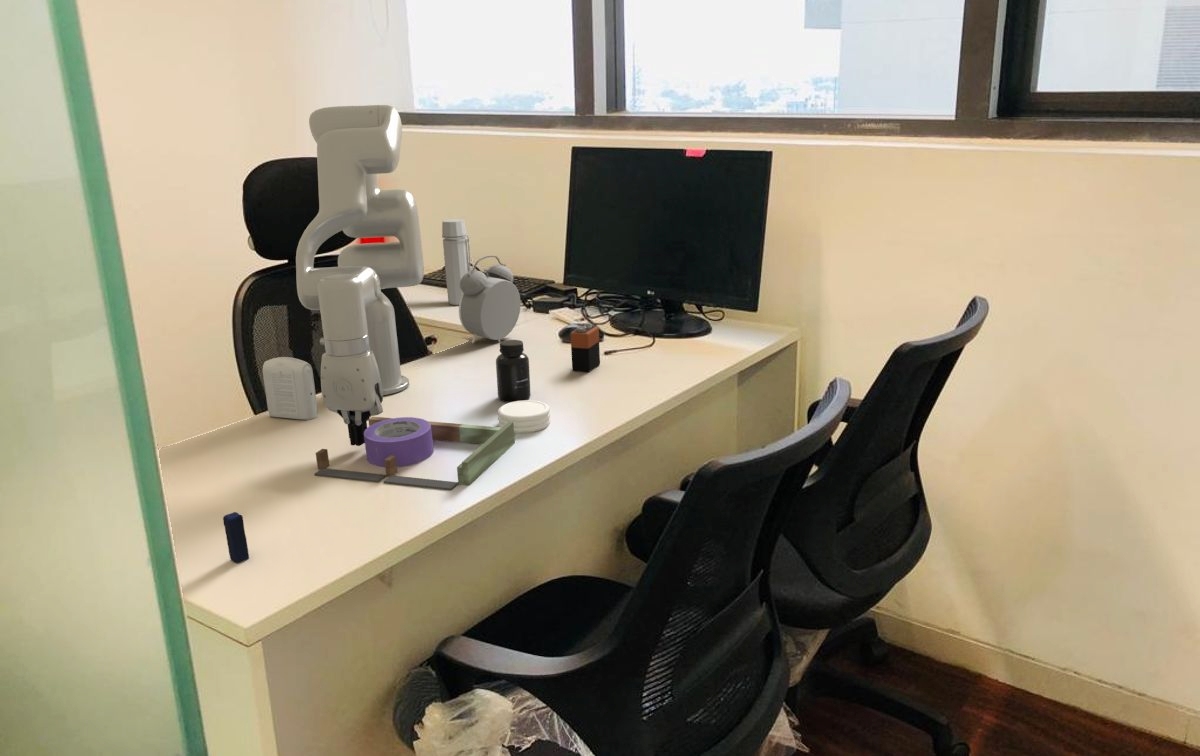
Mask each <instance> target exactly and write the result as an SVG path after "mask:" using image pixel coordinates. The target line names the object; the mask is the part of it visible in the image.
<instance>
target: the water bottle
mask: <svg viewBox="0 0 1200 756" xmlns="http://www.w3.org/2000/svg"><path fill="white" fill-rule="evenodd" d="M441 222H442V225H441V226H442V227H441V233H442V235H441V237H442V246H443V256H444V259H443V260H444V269H445V279H446V281H445V282H446V293H447V301H448V304H449V305H452V306H456V307H459V302H460V299H461V295H462V293H463V292H462V290H461V288H460V281H461V279H462V277H463V276H464V275H465V274H466V273H468V272H470V271H472V269H473V268H474V265H475V263H474V260H473V253H472V249H471V243H470V240H471V236H469V235H467V228H466V222H465V219H463V218H449V219H444V220H442V221H441ZM471 266H472V268H471ZM474 271H476V269H475V270H474Z"/></svg>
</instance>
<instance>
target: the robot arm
mask: <svg viewBox="0 0 1200 756" xmlns="http://www.w3.org/2000/svg"><path fill="white" fill-rule="evenodd" d="M308 124H309V130H310V133H311V136H312V137H313V139H314V142H315V143H316V157H317V158H316V160H317V162H316V163H317V181H318V183H317V184H318V185H317V186H318V204H319V206H318V207H319V209H318V213H317V214H316V216H315V217H314V218H313V220H311V222H309V224H308V225H307V227H306V229H304V231H303V233H302V235H301V237H300V238H299V241H298V245H297V248H296V254H295V255H296V256H295V270H296V273H295V274H296V275H295V276H296V291H297V296H298V299H299V302H300V303H301V305H302V306H303V307H304V308H305V309H308V310H311V311H319V312H320V318H321V326H322V327H321V328H322V333H323V337H321V338H320V339H319V345H321V346H324V350H325V352H323V353H322V354H321V363H320V387H321V399H322V404H323V405H324V407H326V408H327V409H328V411H330V412H333V413H335V414H338V415H339V417H341V418H342V419H343V423H344V424H345V425H347V430H348V437H349V442H350V446H357V447H361V446H362V445H363V444H365V440H364V431H365V430H366V429H367V428H368V424H367V423H368V422H369V421H368V420H369V418H371V417H376V416H379V415H380V414H382V413H383V412H384V408H383V405H382V403H383V401H384V400H383V398H384V396H388V395H391V394H396V393H399V392H401V391H405V390H406V389H407V388H408V387H409V385H410V380H409V378H408V377H407V376H405V375H402V371H401V370H402V369H401V362H400V353H399V352H400V351H399V343H398V336H397V333H398V332H397V326H396V314H395V308H394V305H393V303H392V302H391V301H390V299H389V298H388V297H387V296H386V295H385V294H384V293H383V292H382V290H384V289H393V288H406V287H407V288H409V287H414V286H418V285H420V284H421V283H422V281H423V279H424V276H425V274H424V273H425V266H424V255H423V245H422V237H421V229H420V218H419V211H418V206H417V202H416V200H415V198H414V197H415V196H414V195H413V194H412V193H411V192H409V191H408V190H405V189H384V190H383V189H380V187H379V184H378V176H377V175H378V174H379V175H380V174H391V173H393V172H395V171H396V170H397V168H398V165H399V161H400V156H401V145H402V139H403V138H402V137H403V136H402V135H403V124H402V120H401V116H400V114H399V112H398V110H397V109H396V108H395V107H394V106H391V105H388V104H374V105H373V104H372V105H371V104H368V105H340V106H339V105H337V106H327V107H322V108H318V109H316V110H314V111H312V112H311V114H310V115H309V119H308ZM339 232H343V234H344V235H346V236H347V237H349V238H356V239H368V238H387V237H390V238H391V237H394V238H396V239H397V240H398V241H397V242H396V241H394V242H392V241H391V242H370V243H369V242H368V243H358V244H357V243H356V244H352V245H349V246H347V247H345V248H343V249H342V250H341V251H340V253H339V255H338V257H337V266H332V267H331V266H330V267H314V266H315V265H314V264H315V256H316V255H317V252H318V250H319V248H320V247H321V246H322V244H323V243H325V242H326V241H328V239H329V238H331V237H332V236H334V235H335V234H338V233H339Z"/></svg>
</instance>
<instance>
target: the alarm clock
mask: <svg viewBox="0 0 1200 756" xmlns="http://www.w3.org/2000/svg"><path fill="white" fill-rule="evenodd" d="M487 258H495V260H497V261H498V264H493V265H491V266H489V267H488V268H484V269H483V272H482V271H480V270H476V268H477V265H478V263H480V262H481V261H482V260H484V259H487ZM474 270H475V271H474ZM484 272H486V273H484ZM513 282H514V274H513V272H512V271H511V269H510V268H508V267H507V263H502V262H501V260H500V258H499V257H498V255H485V256H482V257H481V258H479V259H478V260H476V262H475V263H474V268H473V267H472V269H471V271H470V272H468V273H466V274H465V275H464V276H463V277H462V279H461V281H460V288H461V290H462V292H463V293H462V295H461V299H460V302H459V305H458V316H459V320H460V323H461V326H462V327H463V329H464V330H465V331H467V332H468V333H469V334H472V341H471V342H472V344H475V342H476V340H477V338H478V337H481V338H482V337H483V338H484V339H486V338H487V339H489V340H494V341H498V342H499V343H500V342H501V340H502V339H504V338H506V337H507V336H508V335H510V333H511V332H512V331H513V329H514V328H515V326H516V325H517V322H518V320H519V317H520V314H521V305H522V304H521V295H520V293H519V290H518V288H517V286H516V285H515V284H514V283H513Z"/></svg>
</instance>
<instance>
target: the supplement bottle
mask: <svg viewBox="0 0 1200 756" xmlns="http://www.w3.org/2000/svg"><path fill="white" fill-rule="evenodd" d="M524 351H525V350H524V342H523V340H519V339H508V340H507V339H506V340H502V341H500V342H499V352H500V354H499V355H498V356H497V357H496V358H495V369H496V370H495V371H496V384H497V386H496V387H497V397H498V399H499V400H500V401H501V402H505V403H511V402H515V401H523V400H528V399H530V397H531V378H530V376H531V375H530V359H529V356H528V355H527V354H526V353H524Z"/></svg>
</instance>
